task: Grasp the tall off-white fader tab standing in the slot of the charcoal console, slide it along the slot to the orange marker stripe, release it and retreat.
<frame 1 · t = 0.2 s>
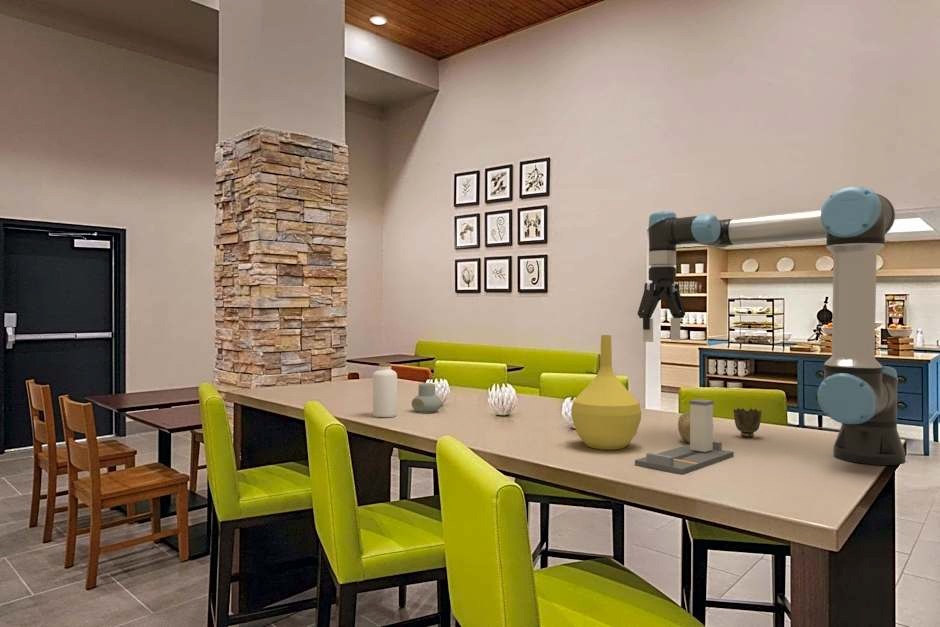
hand: (662, 341, 185), 28 cm above the table, fingers open, 13 cm apart
white bottle: (384, 416, 222), on the table
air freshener: (426, 412, 232), on the table
fader tab: (701, 425, 163), point 8 cm above the table, slide at -8.0 cm
console: (685, 460, 157), on the table
coral: (694, 443, 179), on the table
vase: (605, 447, 174), on the table
cup: (747, 438, 186), on the table
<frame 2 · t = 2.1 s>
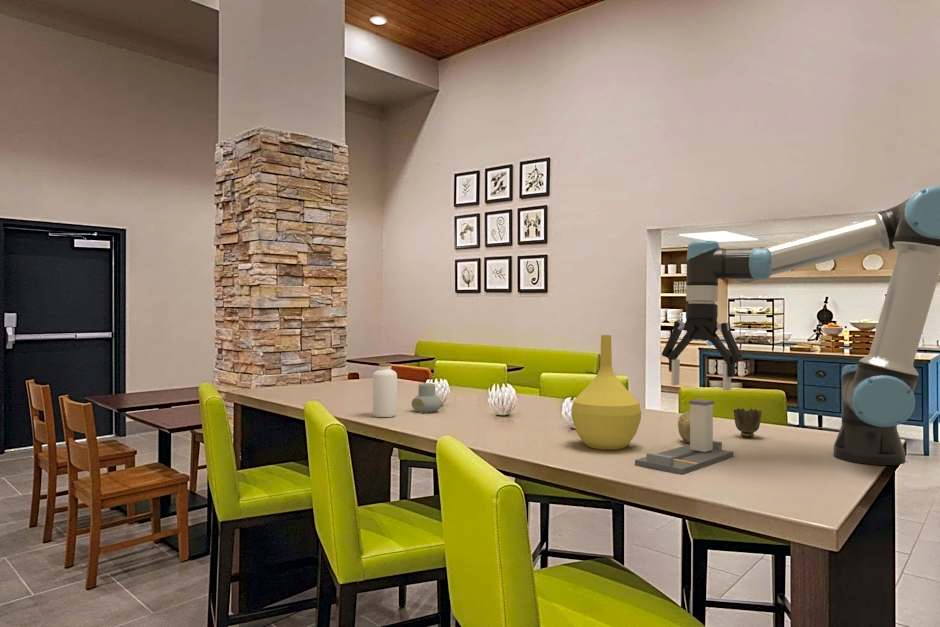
hand: (700, 387, 163), 17 cm above the table, fingers open, 13 cm apart
nothing on the table moved.
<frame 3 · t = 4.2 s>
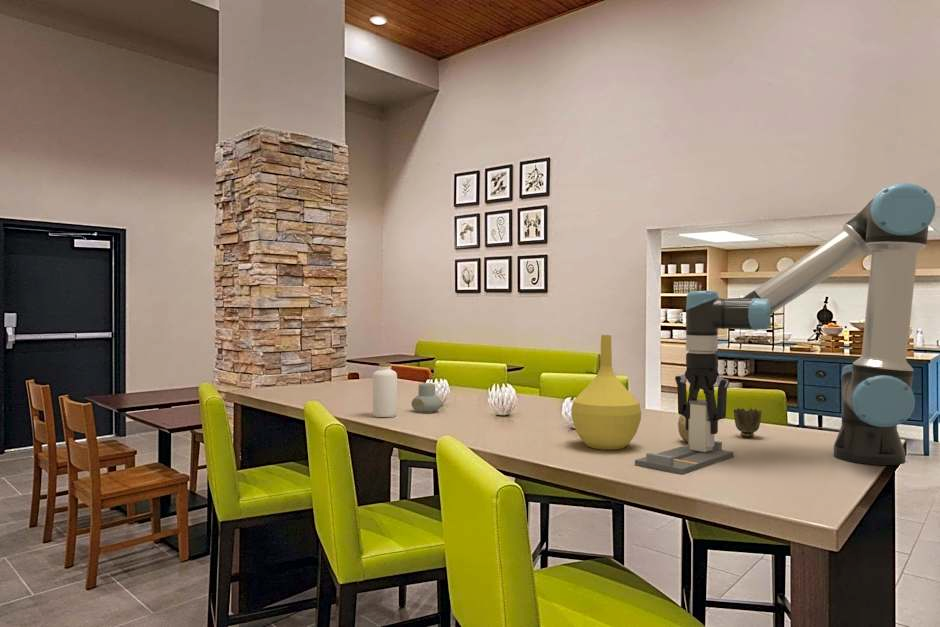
hand: (701, 445, 163), 3 cm above the table, fingers closed on fader tab, 4 cm apart
fader tab: (701, 425, 163), point 8 cm above the table, slide at -8.0 cm, touching gripper
everything else where it was.
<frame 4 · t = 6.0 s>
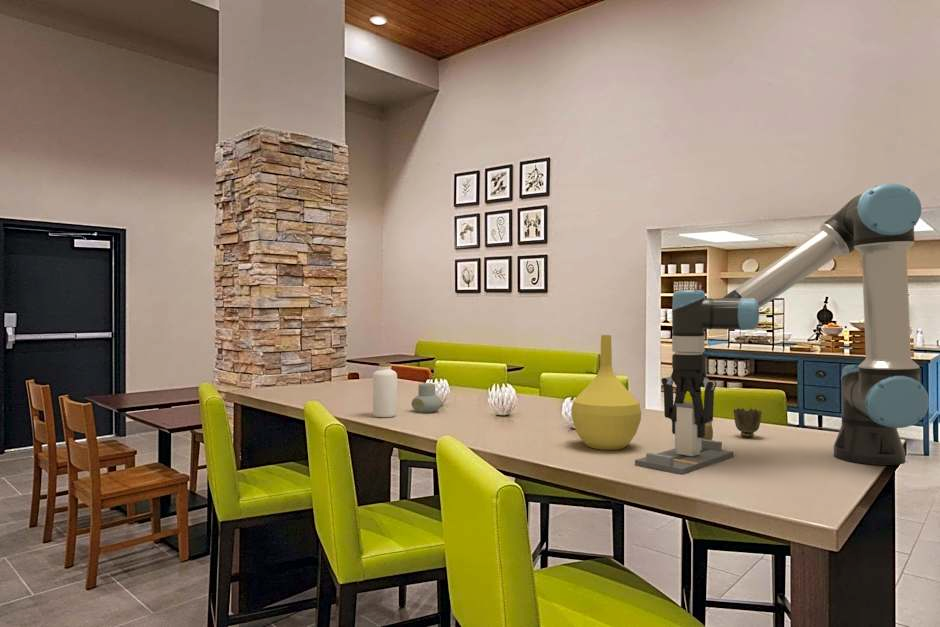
hand: (688, 449, 158), 3 cm above the table, fingers closed on fader tab, 4 cm apart
fader tab: (688, 428, 158), point 8 cm above the table, slide at -1.2 cm, touching gripper
everything else where it was.
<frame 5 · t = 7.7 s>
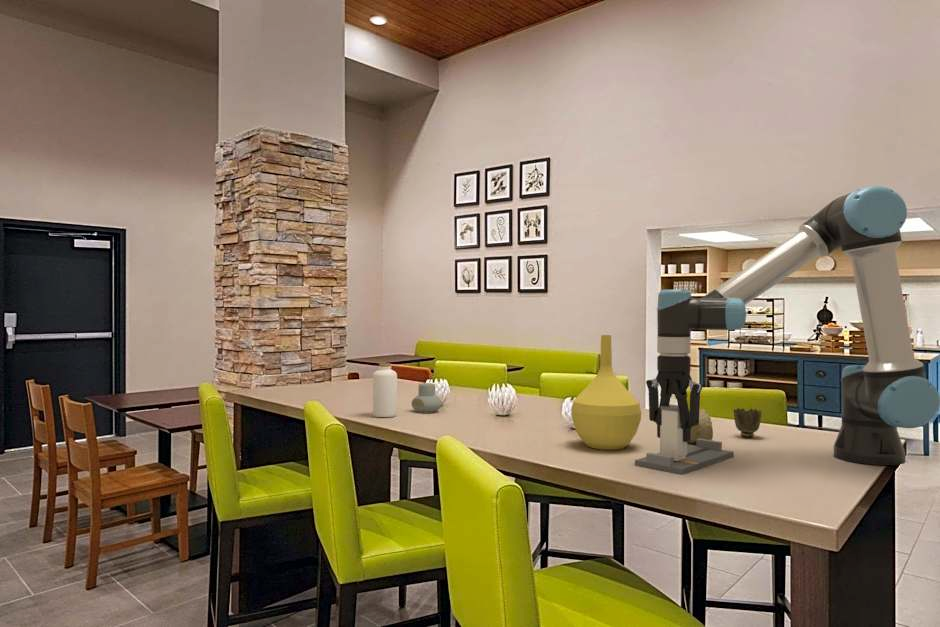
hand: (673, 453, 153), 3 cm above the table, fingers closed on fader tab, 4 cm apart
fader tab: (673, 432, 153), point 8 cm above the table, slide at 5.9 cm, touching gripper
everything else where it was.
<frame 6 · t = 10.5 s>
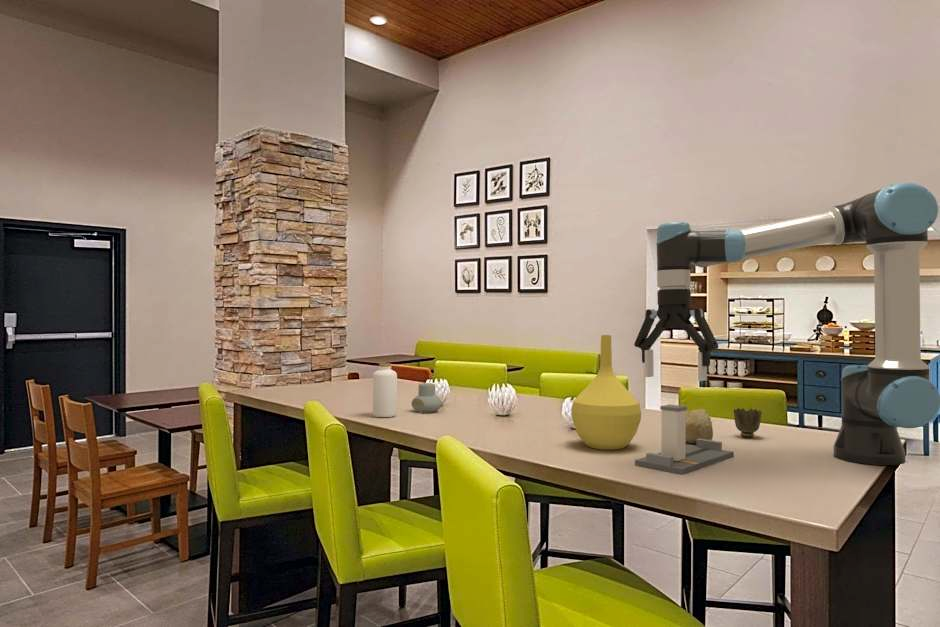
hand: (675, 378, 153), 20 cm above the table, fingers open, 13 cm apart
fader tab: (673, 432, 153), point 8 cm above the table, slide at 6.0 cm
everything else where it was.
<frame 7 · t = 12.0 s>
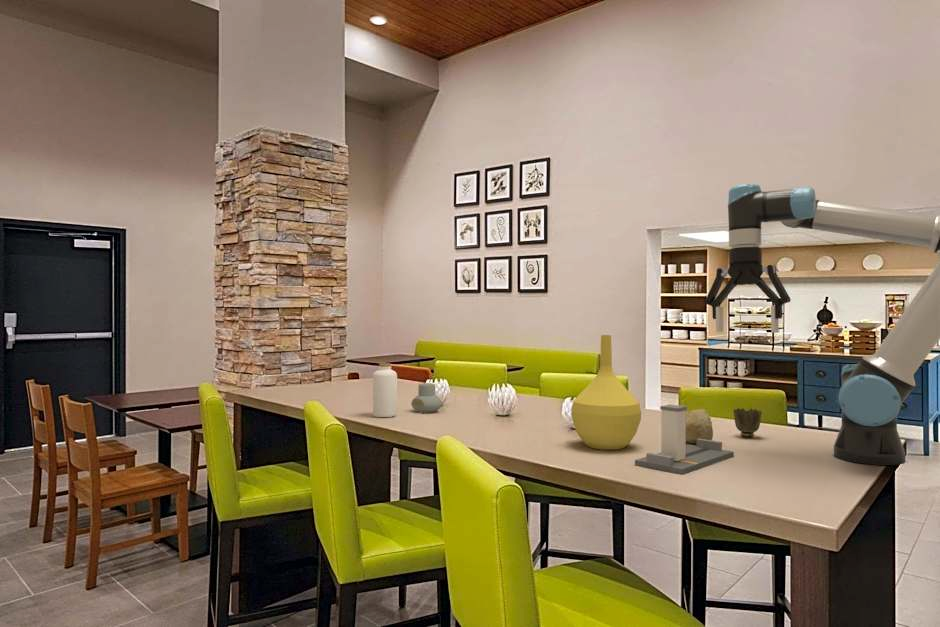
hand: (746, 332, 162), 31 cm above the table, fingers open, 13 cm apart
nothing on the table moved.
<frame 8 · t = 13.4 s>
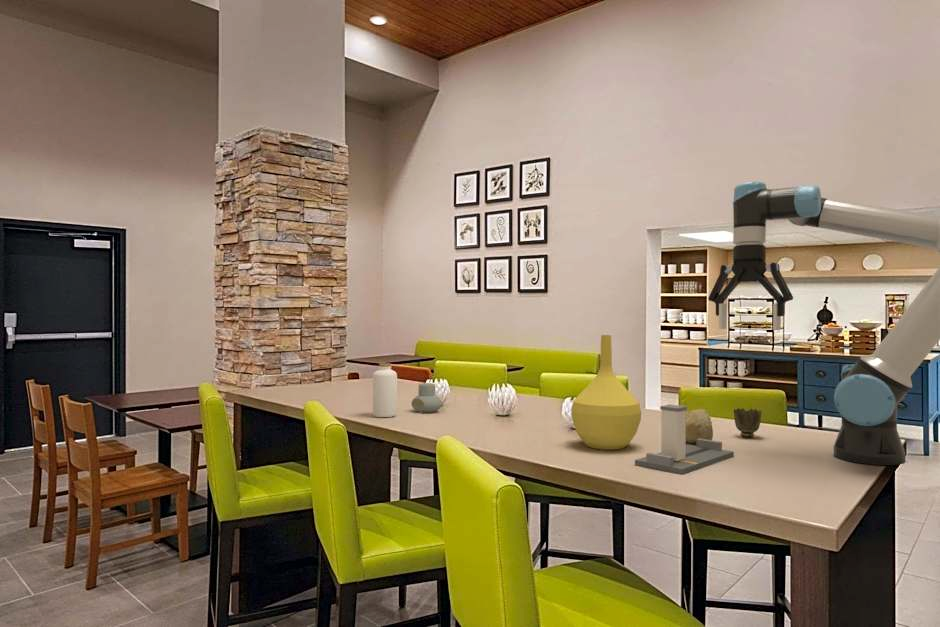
hand: (748, 329, 163), 32 cm above the table, fingers open, 13 cm apart
nothing on the table moved.
at the end: fader tab slide at 6.0 cm; the gripper is holding nothing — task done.
